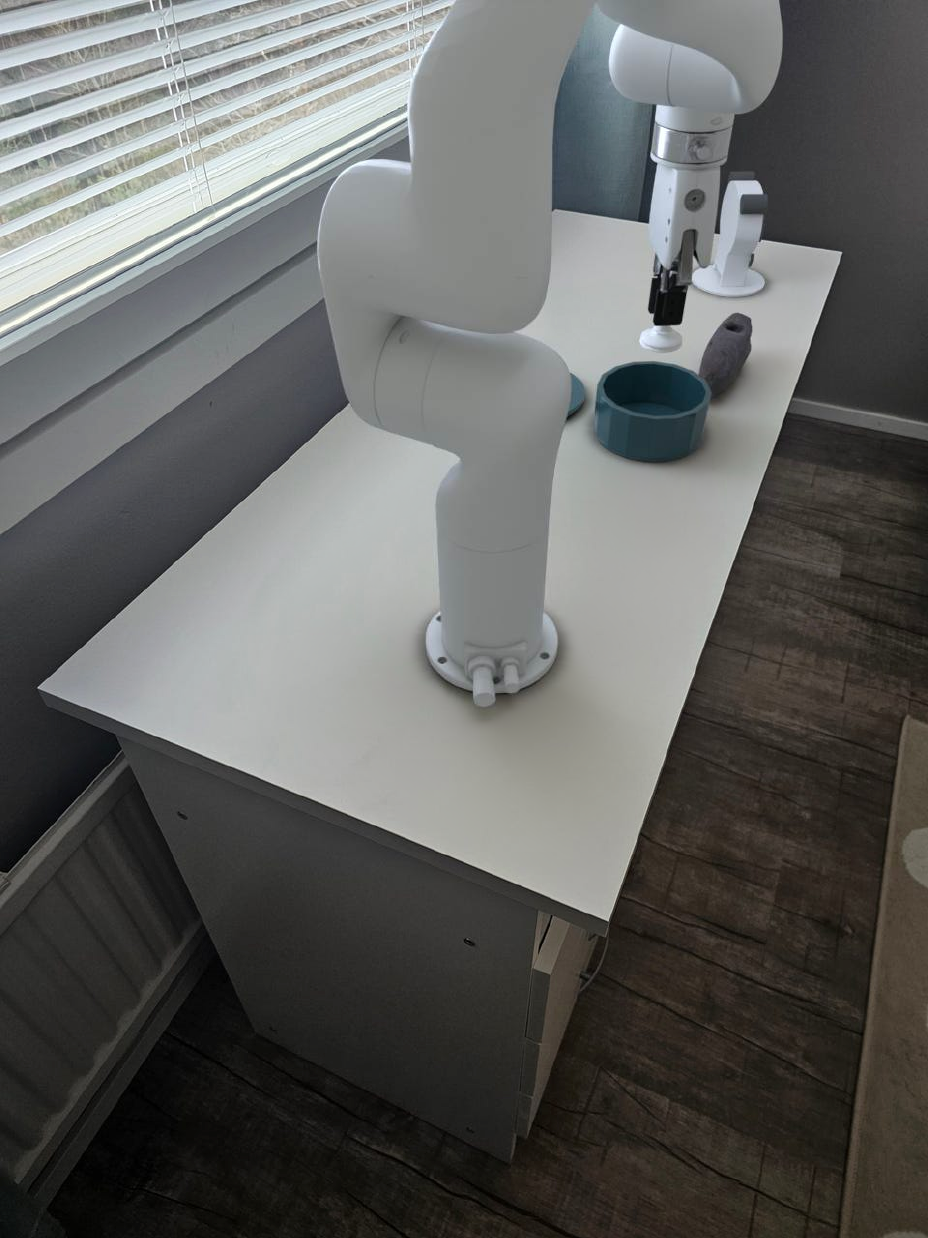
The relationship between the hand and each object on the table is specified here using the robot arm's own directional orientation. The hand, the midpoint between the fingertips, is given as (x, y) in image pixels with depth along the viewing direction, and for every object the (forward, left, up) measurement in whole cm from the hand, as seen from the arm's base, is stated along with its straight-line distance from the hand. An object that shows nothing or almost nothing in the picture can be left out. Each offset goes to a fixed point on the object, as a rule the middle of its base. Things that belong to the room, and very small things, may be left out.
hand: (664, 316), depth 101 cm
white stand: (+42, -21, -15) cm, 49 cm away
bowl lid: (+9, +14, -14) cm, 22 cm away
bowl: (0, 0, -15) cm, 15 cm away
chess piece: (0, 0, -3) cm, 3 cm away
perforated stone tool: (+11, -12, -15) cm, 22 cm away
